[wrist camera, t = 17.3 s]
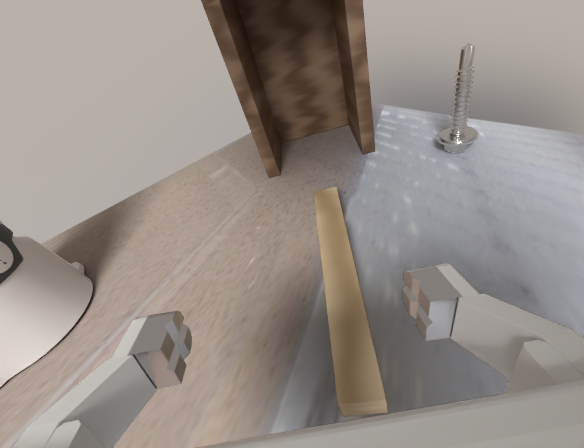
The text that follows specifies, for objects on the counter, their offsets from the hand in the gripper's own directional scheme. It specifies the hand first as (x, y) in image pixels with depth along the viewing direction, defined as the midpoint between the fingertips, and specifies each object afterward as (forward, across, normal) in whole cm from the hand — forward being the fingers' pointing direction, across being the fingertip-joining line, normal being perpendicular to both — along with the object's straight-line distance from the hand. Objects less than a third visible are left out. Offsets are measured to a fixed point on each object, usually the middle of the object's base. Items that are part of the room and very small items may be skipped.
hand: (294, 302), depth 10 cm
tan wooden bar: (+14, -4, +12) cm, 19 cm away
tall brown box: (+44, -8, +6) cm, 45 cm away
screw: (+30, -25, +6) cm, 39 cm away
